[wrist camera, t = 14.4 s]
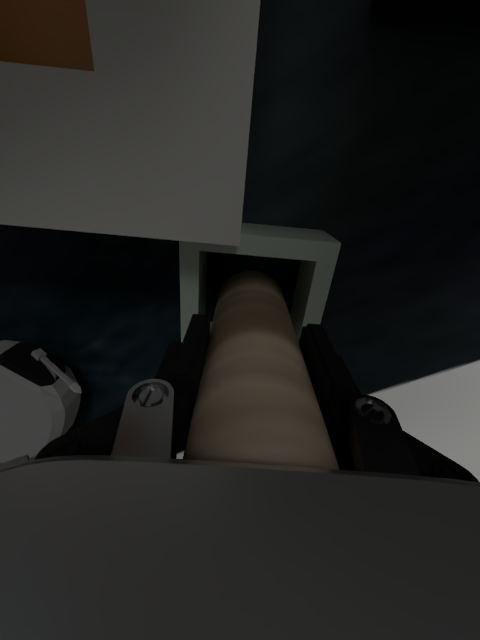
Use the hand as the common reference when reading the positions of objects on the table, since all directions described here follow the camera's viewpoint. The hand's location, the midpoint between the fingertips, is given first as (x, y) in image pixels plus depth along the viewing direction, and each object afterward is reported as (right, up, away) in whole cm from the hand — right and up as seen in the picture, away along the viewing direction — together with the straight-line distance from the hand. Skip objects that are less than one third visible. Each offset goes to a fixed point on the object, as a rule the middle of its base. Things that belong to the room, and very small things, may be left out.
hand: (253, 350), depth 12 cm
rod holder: (0, +4, +6) cm, 7 cm away
